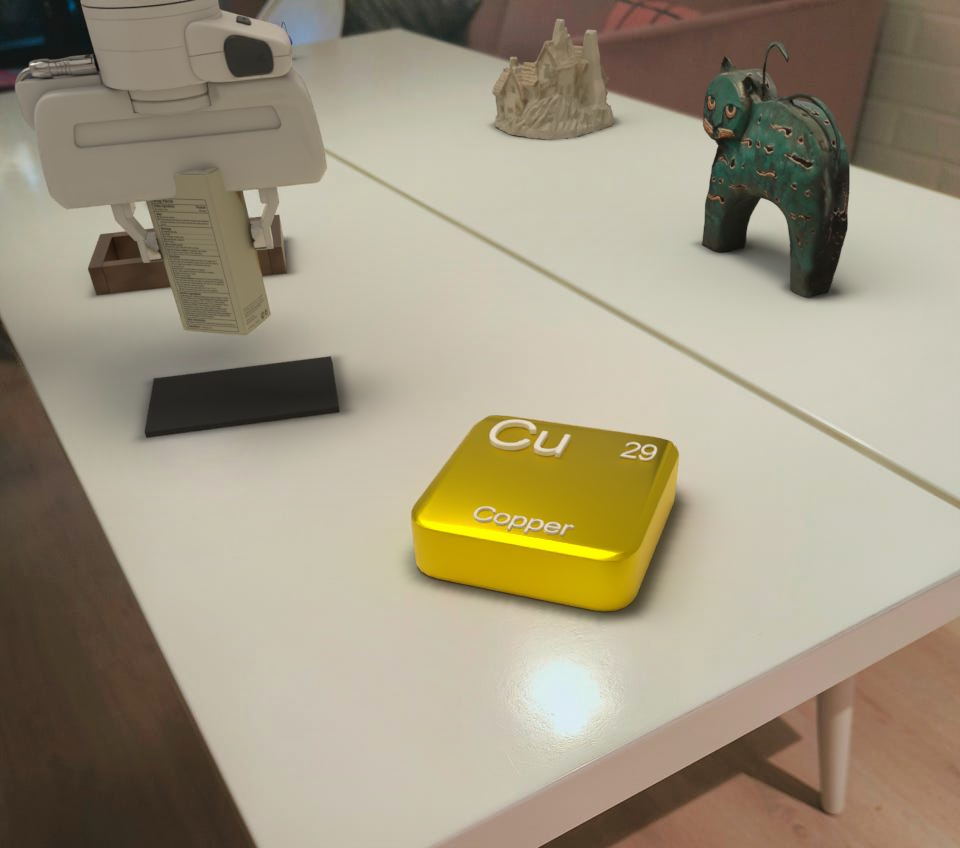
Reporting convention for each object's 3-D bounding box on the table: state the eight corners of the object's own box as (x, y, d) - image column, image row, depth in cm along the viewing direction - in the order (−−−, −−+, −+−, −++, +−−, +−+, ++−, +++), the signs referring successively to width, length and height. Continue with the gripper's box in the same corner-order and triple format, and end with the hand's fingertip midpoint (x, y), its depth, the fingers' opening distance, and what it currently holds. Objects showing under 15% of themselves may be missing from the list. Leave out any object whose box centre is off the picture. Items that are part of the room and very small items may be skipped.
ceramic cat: (684, 242, 104) (704, 31, 91) (733, 232, 106) (760, 23, 93) (796, 305, 91) (839, 67, 77) (851, 291, 92) (902, 56, 79)
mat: (146, 438, 77) (144, 432, 77) (155, 384, 85) (153, 378, 84) (339, 413, 79) (338, 406, 78) (332, 362, 86) (331, 355, 86)
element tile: (405, 575, 62) (398, 514, 59) (485, 460, 72) (482, 403, 69) (628, 620, 57) (633, 557, 54) (679, 491, 68) (686, 432, 64)
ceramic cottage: (628, 122, 142) (627, 5, 133) (542, 149, 136) (534, 27, 126) (565, 112, 153) (559, 2, 143) (483, 136, 147) (471, 23, 137)
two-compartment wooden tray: (96, 296, 101) (87, 268, 99) (108, 260, 109) (99, 233, 107) (286, 274, 103) (281, 246, 101) (284, 240, 111) (279, 214, 109)
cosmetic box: (273, 316, 78) (241, 157, 70) (247, 338, 75) (210, 174, 67) (206, 309, 80) (167, 153, 72) (178, 331, 77) (134, 170, 68)
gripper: (-5, 71, 61) (68, 283, 70) (310, 43, 63) (340, 252, 72) (13, 53, 65) (79, 254, 75) (306, 27, 68) (335, 226, 77)
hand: (210, 253), depth 73 cm, fingers closed on cosmetic box, 7 cm apart
